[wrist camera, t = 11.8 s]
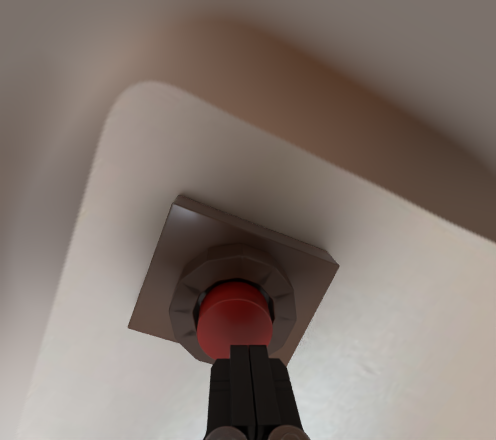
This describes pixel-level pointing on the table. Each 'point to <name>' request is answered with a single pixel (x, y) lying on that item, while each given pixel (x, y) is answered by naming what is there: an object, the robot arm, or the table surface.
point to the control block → (228, 276)
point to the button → (233, 319)
